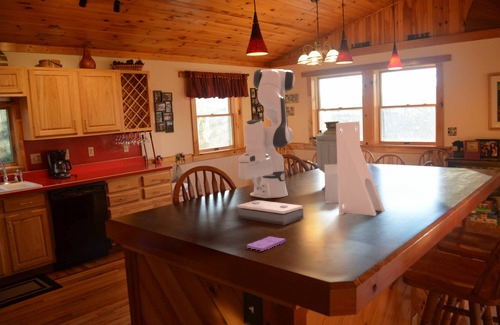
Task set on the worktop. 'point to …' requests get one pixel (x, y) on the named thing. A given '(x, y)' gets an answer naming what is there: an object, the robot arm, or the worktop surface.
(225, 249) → the worktop surface
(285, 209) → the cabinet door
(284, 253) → the worktop surface
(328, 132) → the samovar
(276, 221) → the shallow grey box
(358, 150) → the white bracket plate
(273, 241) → the sponges
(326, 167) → the milk carton
